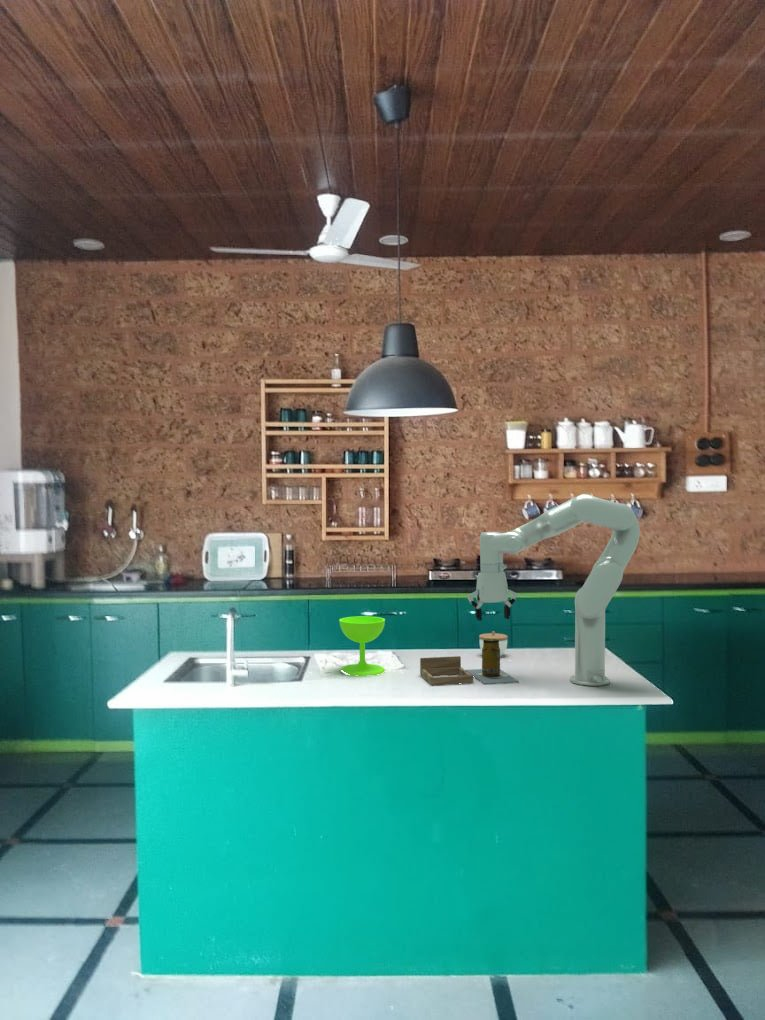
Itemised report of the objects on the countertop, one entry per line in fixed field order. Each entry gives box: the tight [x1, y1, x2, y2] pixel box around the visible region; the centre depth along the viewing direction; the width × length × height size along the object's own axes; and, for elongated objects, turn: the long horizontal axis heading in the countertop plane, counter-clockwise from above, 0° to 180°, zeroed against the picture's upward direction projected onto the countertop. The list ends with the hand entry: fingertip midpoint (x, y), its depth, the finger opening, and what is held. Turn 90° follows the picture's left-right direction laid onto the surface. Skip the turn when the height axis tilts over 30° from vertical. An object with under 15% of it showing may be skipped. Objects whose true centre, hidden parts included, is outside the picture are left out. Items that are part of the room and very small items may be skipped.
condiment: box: [478, 639, 510, 678], centre depth 285 cm, size 7×8×12 cm
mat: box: [465, 668, 520, 685], centre depth 286 cm, size 20×12×1 cm, turn 12°
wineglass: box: [338, 615, 386, 677], centre depth 295 cm, size 16×16×18 cm
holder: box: [419, 655, 474, 686], centre depth 282 cm, size 15×14×6 cm
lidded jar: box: [478, 630, 509, 657], centre depth 320 cm, size 11×11×9 cm
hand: (493, 619), depth 285 cm, fingers open, 9 cm apart
